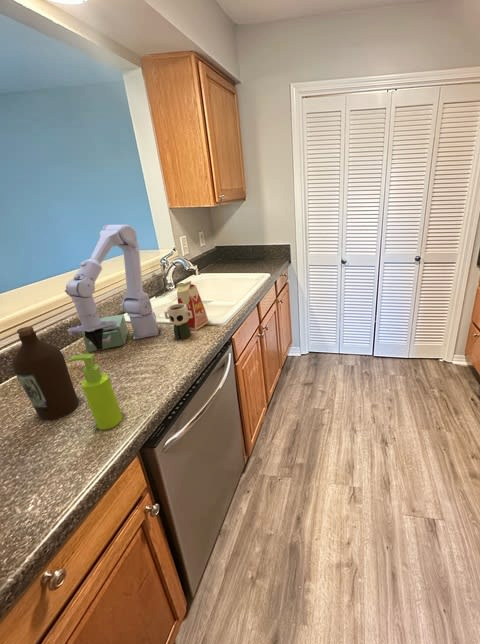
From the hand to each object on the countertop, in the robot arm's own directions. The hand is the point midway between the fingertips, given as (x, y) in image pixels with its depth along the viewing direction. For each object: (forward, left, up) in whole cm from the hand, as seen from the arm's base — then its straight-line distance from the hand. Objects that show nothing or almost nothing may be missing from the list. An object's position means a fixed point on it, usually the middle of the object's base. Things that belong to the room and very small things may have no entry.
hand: (100, 348), depth 116 cm
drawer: (0, -10, -3) cm, 10 cm away
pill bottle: (-13, -35, -4) cm, 38 cm away
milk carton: (-33, -15, -4) cm, 37 cm away
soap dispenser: (-7, +40, -4) cm, 41 cm away
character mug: (-28, -5, -4) cm, 29 cm away
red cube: (0, -13, -2) cm, 13 cm away
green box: (0, -15, -4) cm, 16 cm away
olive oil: (+7, +28, -4) cm, 29 cm away
